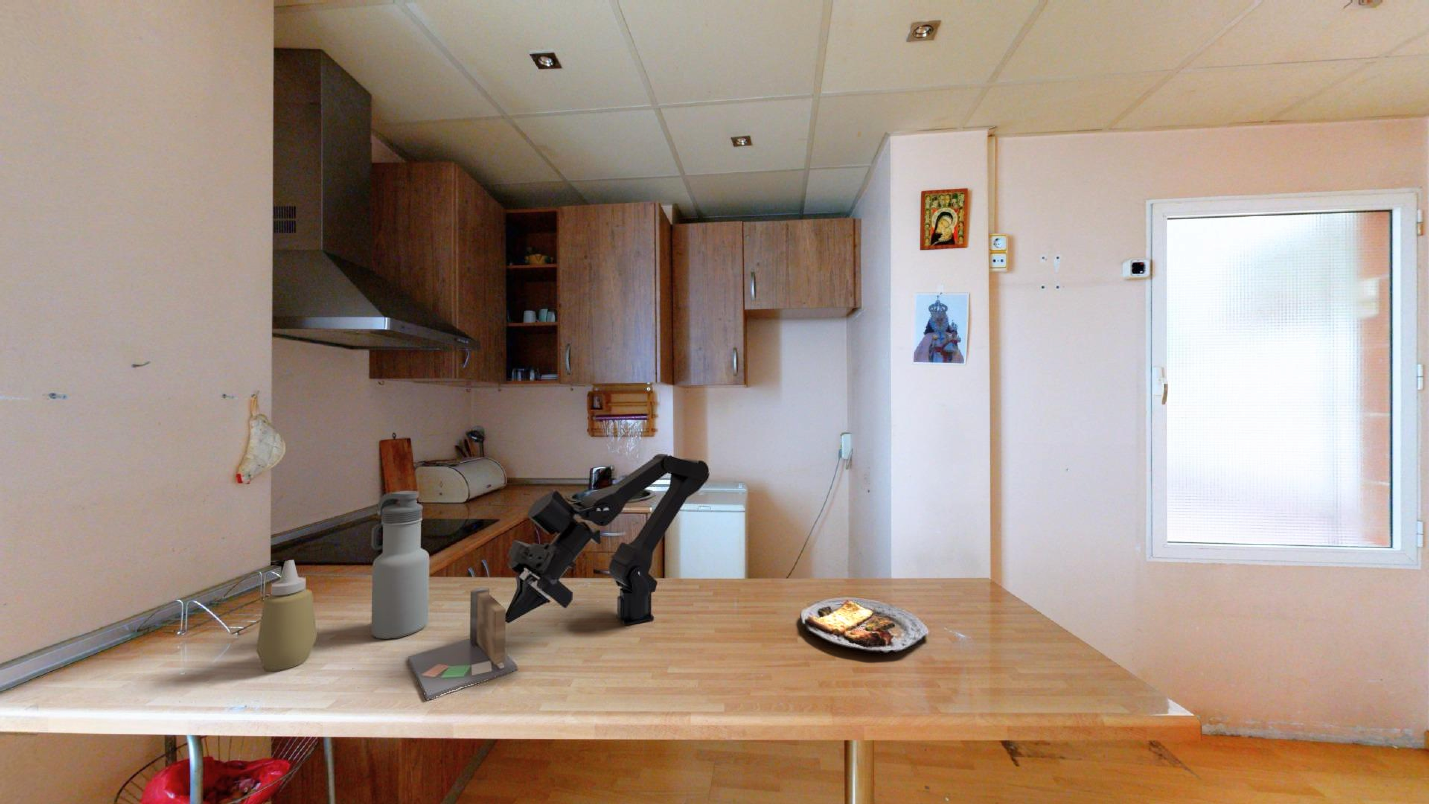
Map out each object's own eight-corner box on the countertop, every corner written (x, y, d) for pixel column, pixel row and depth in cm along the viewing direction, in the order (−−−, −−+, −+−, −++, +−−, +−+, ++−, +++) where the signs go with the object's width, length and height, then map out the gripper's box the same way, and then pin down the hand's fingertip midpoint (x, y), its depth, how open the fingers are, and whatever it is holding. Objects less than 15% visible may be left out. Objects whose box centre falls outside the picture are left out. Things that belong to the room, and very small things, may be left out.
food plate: (881, 674, 82) (881, 653, 82) (777, 628, 99) (777, 611, 99) (944, 634, 98) (944, 616, 98) (846, 601, 116) (846, 586, 116)
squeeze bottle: (247, 680, 79) (250, 571, 80) (265, 658, 86) (267, 557, 87) (309, 668, 83) (311, 564, 83) (321, 648, 90) (324, 552, 91)
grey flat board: (408, 660, 86) (408, 655, 86) (488, 637, 95) (488, 632, 95) (427, 701, 74) (427, 695, 74) (517, 670, 83) (517, 664, 83)
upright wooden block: (467, 640, 91) (468, 590, 91) (485, 635, 93) (486, 586, 93) (492, 671, 80) (492, 614, 80) (511, 664, 82) (512, 609, 82)
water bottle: (358, 634, 96) (361, 494, 96) (406, 615, 105) (408, 487, 105) (392, 644, 92) (395, 497, 92) (439, 623, 101) (441, 490, 101)
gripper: (518, 515, 97) (457, 583, 90) (557, 533, 83) (488, 614, 76) (555, 548, 102) (500, 614, 95) (597, 569, 88) (537, 649, 81)
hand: (505, 621), depth 86 cm, fingers closed
